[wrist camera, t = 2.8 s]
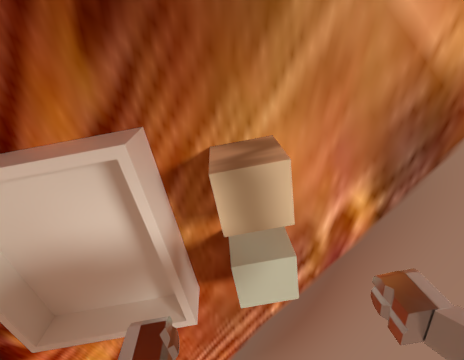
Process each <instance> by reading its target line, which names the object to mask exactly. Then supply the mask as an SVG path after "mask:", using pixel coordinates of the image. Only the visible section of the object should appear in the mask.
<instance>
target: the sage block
mask: <svg viewBox="0 0 464 360" xmlns="http://www.w3.org/2000/svg"><path fill="white" fill-rule="evenodd" d="M229 247H230V260H231V269H232V273H233V277H234V281H235V285H236V290H237V294H238V298H239V302H240V306H241V308H246V307H252V306H258V305H263V304H269V303H275V302H281V301H287V300H293V299H298V298H299V293H298V276H297V259H296V254H295V252H294V249H293V247H292V244H291V242H290V239H289V237H288V235H287V232H286V230H285V227H278V228H273V229H267V230H262V231H256V232H251V233H245V234H240V235H234V236H229Z"/></svg>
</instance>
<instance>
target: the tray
mask: <svg viewBox="0 0 464 360" xmlns="http://www.w3.org/2000/svg"><path fill="white" fill-rule="evenodd" d="M198 303H199V285H198V282H197V279H196V277H195V274H194V271H193V268H192V265H191V262H190V260H189V257H188V254H187V251H186V248H185V245H184V242H183V240H182V237H181V234H180V231H179V228H178V225H177V223H176V220H175V217H174V214H173V211H172V208H171V205H170V203H169V200H168V197H167V194H166V191H165V188H164V186H163V183H162V180H161V177H160V174H159V171H158V168H157V166H156V163H155V160H154V157H153V154H152V151H151V149H150V146H149V143H148V140H147V137H146V134H145V131H144V129H143V127H139V128H134V129H129V130H124V131H118V132H113V133H108V134H103V135H97V136H92V137H87V138H81V139H76V140H71V141H66V142H60V143H55V144H50V145H45V146H39V147H34V148H29V149H24V150H18V151H13V152H8V153H3V154H0V322H1V323H2V324H3V325H4V326H5V327H6V328H7V329H8V330H9V331H10V332H11V333H12V334H13V335H14V336H15V337H16V338H17V339H18V340H19V341H20V342H21V343H23V344H24V345H25V346H26V347H27V348H28V349H29V350H30V351H31V352H32V353H35V352H41V351H47V350H53V349H58V348H64V347H70V346H76V345H81V344H87V343H93V342H99V341H104V340H110V339H116V338H122V337H125V335H126V332H127V329H128V327H129V325H130V324H131V323H134V322H139V321H144V320H151V319H156V318H162V317H167V316H170V317H171V319H172V321H173V323H172V326H173V327H175V328H179V327H185V326H191V325H197V319H198Z"/></svg>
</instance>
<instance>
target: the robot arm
mask: <svg viewBox="0 0 464 360" xmlns="http://www.w3.org/2000/svg"><path fill="white" fill-rule="evenodd" d="M372 282H373V284H374V285H375V287H374V288H373V289H372V290H371V298H372V302H373V304H374V307H375V309H376V310H377V312H378V313H379V315H380V316H382V317H383V318H385V319H387V320H388V328H389V329H390V331H391V333H392V334H393V335H394V337H395V338H396V340H397V341H398V343H399V344H400V345H406V344H413V343H418V342H424V343H425V344H426V345H427V346H429V347H430V348H432V349H433V350H434V351H436V352H437V353H438V354H440V355H441V356H442V357H444V358H445V359H447V360H464V308H462V307H460V306H454V305H452V303H450V302H449V301H448V300H447V299H446V298H445V297H444V296H443V295H442V294H441V293H440V292H439V291H438V290H437V289H436V288H435V287H434V286H433V285H432V284H431V283H430V282H429V281H428V280H427V279H426V278H425V277H424V276H423V275H422V274H421V273H420V272H419V271H418V270H416V269H408V270H403V271H395V272H391V273H386V274H382V275H377V276H374V277H373V281H372ZM172 323H173V321H172V319H171V317H170V316H167V317H162V318H156V319H151V320H144V321H139V322H134V323H131V324H130V325H129V327H128V329H127V332H126V335H125V338H124V342H123V345H122V348H121V351H120V354H119V358H118V360H175V359H176V358H177V356H178V354H179V336H178V331H177V329H176V328H175V327H173V326H172Z"/></svg>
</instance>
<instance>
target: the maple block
mask: <svg viewBox="0 0 464 360" xmlns="http://www.w3.org/2000/svg"><path fill="white" fill-rule="evenodd" d="M209 178H210V182H211V186H212V190H213V194H214V198H215V202H216V206H217V211H218V215H219V219H220V223H221V227H222V231H223V235H224V237H229V236H234V235H240V234H245V233H251V232H256V231H262V230H267V229H273V228H278V227H284V226H289V225H295V223H294V206H293V190H292V174H291V159H290V158H289V156H288V155H287V154H286V152H285V151H284V150H283V148H282V147H281V146H280V145H279V143H278V142H277V141H276V139H275V138H274V137H273V135H271V136H266V137H261V138H255V139H250V140H245V141H239V142H234V143H229V144H223V145H218V146H213V147H210V154H209Z"/></svg>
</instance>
